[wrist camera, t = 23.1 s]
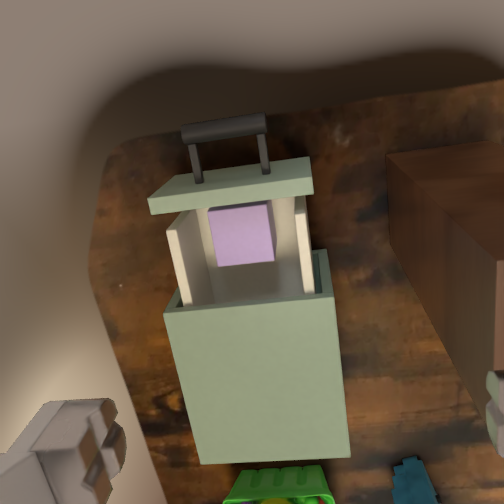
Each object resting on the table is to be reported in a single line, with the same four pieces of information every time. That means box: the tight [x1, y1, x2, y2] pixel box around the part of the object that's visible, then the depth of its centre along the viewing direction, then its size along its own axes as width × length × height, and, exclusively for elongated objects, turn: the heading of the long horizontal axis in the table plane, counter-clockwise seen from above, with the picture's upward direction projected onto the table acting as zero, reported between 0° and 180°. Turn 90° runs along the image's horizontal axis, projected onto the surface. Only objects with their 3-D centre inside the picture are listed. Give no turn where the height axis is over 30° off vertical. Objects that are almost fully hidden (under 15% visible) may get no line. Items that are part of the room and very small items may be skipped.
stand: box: [385, 140, 504, 426], centre depth 28 cm, size 8×8×23 cm
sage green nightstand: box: [163, 249, 351, 465], centre depth 40 cm, size 15×13×10 cm
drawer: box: [147, 112, 317, 307], centre depth 36 cm, size 18×11×8 cm, turn 9°
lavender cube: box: [207, 200, 277, 267], centre depth 37 cm, size 4×4×4 cm
